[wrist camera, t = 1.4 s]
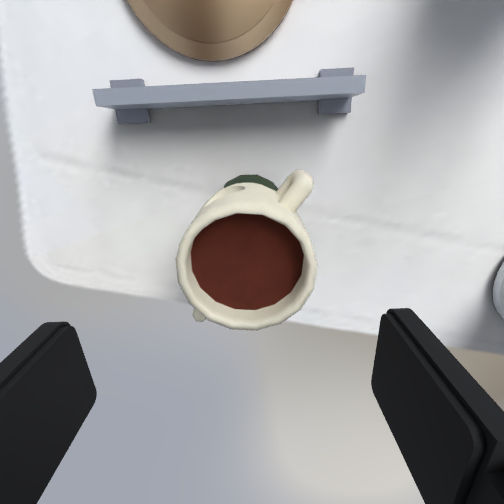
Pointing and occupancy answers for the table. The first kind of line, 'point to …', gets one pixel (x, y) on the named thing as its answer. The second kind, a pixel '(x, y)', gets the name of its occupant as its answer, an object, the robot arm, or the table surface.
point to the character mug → (249, 254)
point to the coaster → (211, 24)
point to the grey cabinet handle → (231, 94)
